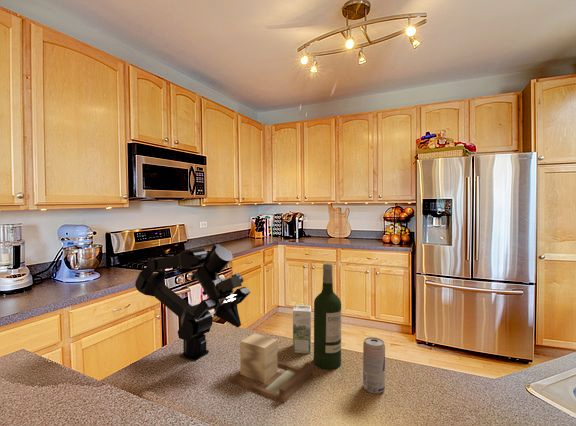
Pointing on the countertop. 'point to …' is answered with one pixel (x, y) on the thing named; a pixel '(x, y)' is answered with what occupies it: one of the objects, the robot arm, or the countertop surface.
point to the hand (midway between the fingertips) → (239, 326)
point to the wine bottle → (327, 324)
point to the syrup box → (302, 329)
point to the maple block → (258, 357)
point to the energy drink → (374, 365)
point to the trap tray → (278, 382)
